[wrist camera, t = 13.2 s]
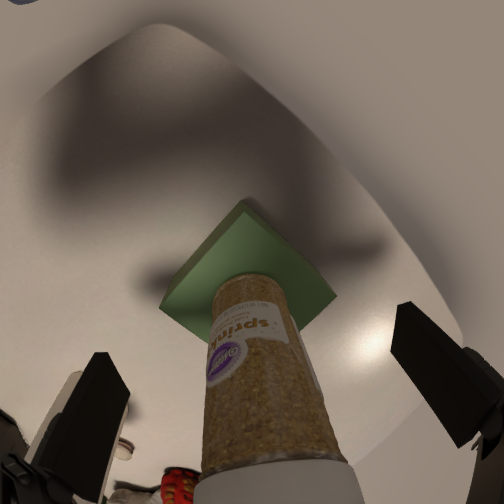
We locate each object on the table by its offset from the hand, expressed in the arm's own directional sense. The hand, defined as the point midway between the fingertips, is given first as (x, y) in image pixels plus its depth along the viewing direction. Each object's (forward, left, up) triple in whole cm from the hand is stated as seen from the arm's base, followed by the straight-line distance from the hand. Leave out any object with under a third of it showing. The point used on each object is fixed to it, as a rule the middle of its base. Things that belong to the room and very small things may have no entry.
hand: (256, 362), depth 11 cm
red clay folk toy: (+34, -16, -11) cm, 39 cm away
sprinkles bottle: (0, 0, -6) cm, 6 cm away
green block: (0, 0, -11) cm, 11 cm away
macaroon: (+24, -23, -11) cm, 35 cm away
